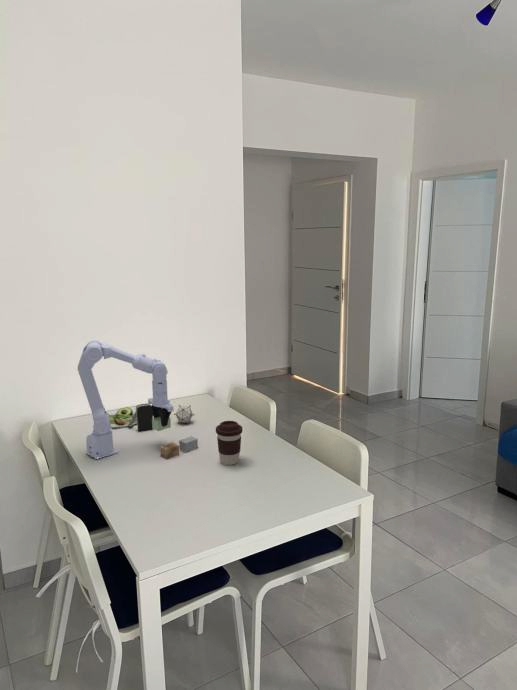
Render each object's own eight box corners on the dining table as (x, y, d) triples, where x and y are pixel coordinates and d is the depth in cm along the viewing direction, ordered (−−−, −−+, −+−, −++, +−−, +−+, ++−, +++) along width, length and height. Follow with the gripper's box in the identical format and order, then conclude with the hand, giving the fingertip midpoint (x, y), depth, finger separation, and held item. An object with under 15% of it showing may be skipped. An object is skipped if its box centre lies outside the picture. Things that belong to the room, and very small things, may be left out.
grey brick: (185, 452, 206) (185, 443, 206) (179, 449, 209) (179, 440, 208) (197, 448, 211) (197, 438, 210) (191, 445, 213) (191, 436, 213)
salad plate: (148, 426, 234) (148, 416, 233) (108, 433, 226) (107, 423, 225) (137, 413, 251) (136, 404, 250) (98, 419, 243) (98, 410, 242)
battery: (151, 426, 233) (150, 401, 231) (153, 429, 230) (152, 404, 227) (135, 429, 230) (134, 404, 228) (137, 432, 227) (136, 406, 224)
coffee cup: (239, 468, 193) (238, 429, 190) (213, 465, 195) (212, 427, 192) (245, 456, 203) (245, 419, 199) (220, 454, 204) (219, 418, 201)
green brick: (158, 431, 207) (157, 421, 206) (152, 428, 210) (152, 419, 209) (170, 427, 211) (170, 417, 210) (164, 424, 214) (164, 415, 213)
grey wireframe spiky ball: (180, 430, 239) (170, 411, 240) (197, 421, 241) (186, 402, 243) (181, 427, 230) (170, 407, 232) (198, 418, 233) (188, 398, 235)
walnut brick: (166, 459, 200) (166, 449, 199) (160, 456, 203) (160, 446, 202) (179, 455, 204) (179, 445, 204) (173, 452, 207) (173, 442, 206)
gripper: (179, 393, 205) (180, 426, 208) (157, 385, 215) (159, 417, 218) (164, 397, 200) (165, 431, 203) (143, 389, 210) (144, 421, 213)
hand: (161, 424), depth 210 cm, fingers closed on green brick, 4 cm apart
